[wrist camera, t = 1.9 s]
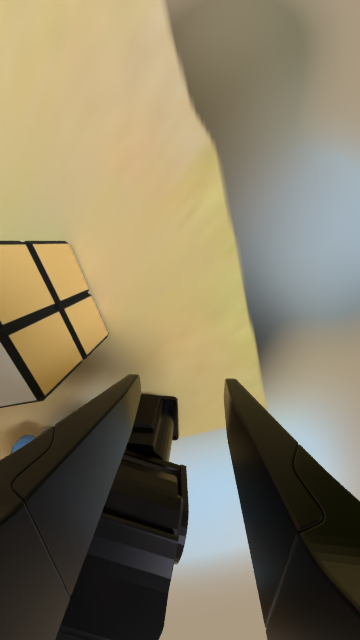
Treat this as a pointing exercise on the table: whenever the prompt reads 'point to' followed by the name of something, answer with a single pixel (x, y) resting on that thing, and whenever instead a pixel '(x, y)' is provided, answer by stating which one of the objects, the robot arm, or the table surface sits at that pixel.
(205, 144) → the table surface
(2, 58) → the table surface
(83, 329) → the puzzle cube
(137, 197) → the table surface
